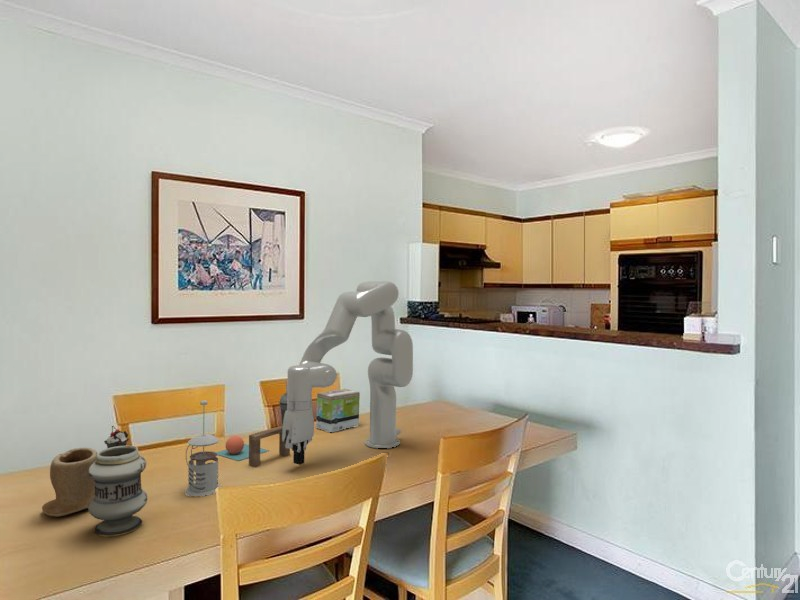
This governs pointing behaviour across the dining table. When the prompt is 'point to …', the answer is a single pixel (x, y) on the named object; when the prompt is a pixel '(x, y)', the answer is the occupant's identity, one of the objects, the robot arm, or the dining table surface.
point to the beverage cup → (283, 404)
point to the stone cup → (71, 482)
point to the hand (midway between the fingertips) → (298, 463)
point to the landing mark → (240, 456)
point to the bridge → (255, 445)
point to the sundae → (117, 439)
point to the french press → (202, 465)
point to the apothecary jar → (117, 490)
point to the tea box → (337, 410)
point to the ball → (234, 445)
